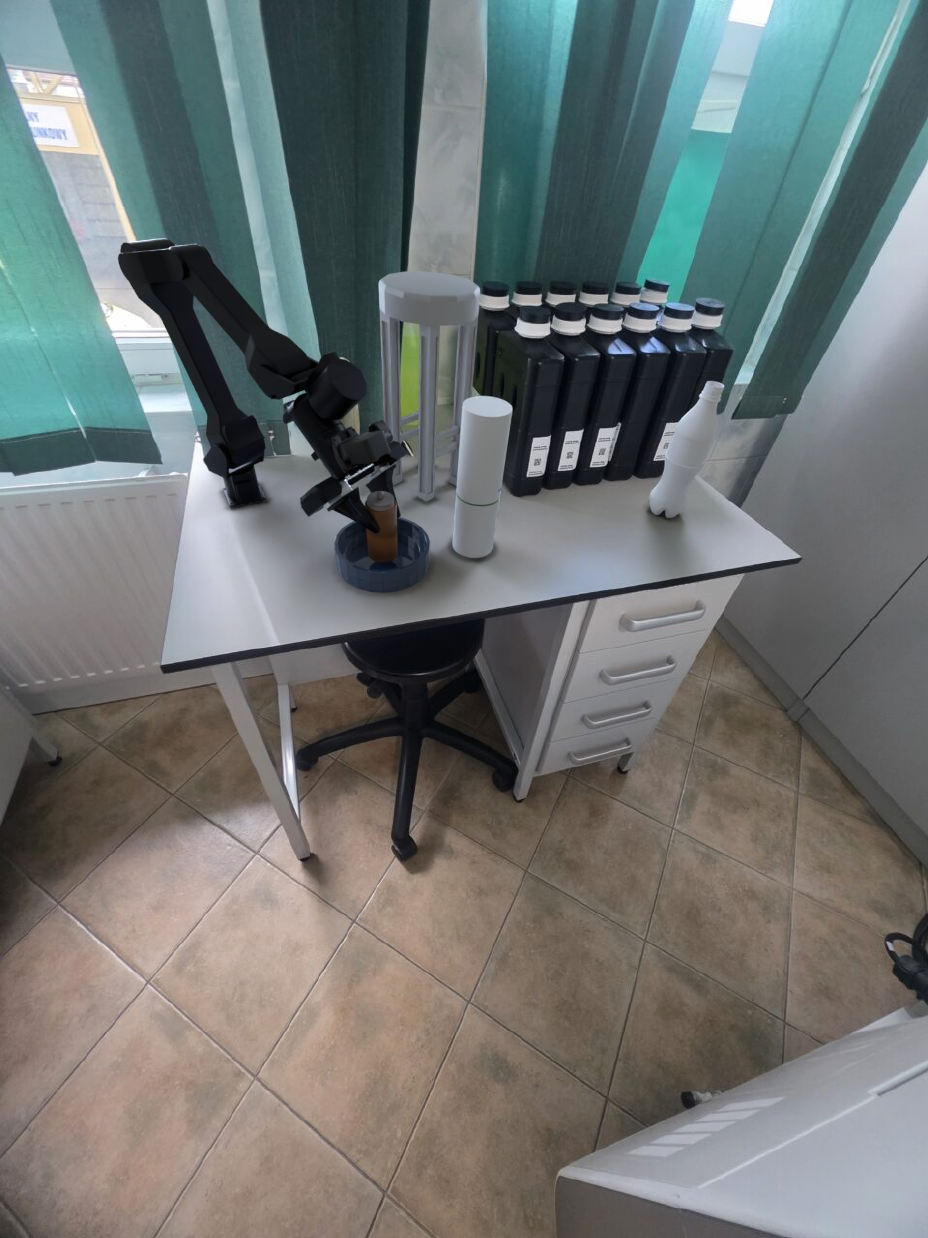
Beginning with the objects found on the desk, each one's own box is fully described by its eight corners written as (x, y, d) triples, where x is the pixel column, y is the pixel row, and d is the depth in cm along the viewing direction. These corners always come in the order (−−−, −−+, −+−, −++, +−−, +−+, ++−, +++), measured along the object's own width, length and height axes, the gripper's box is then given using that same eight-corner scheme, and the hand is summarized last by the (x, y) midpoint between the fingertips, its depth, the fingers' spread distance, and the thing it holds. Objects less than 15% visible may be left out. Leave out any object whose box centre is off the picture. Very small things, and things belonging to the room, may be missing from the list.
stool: (478, 483, 105) (499, 286, 80) (426, 511, 96) (431, 300, 72) (425, 456, 112) (429, 266, 87) (371, 480, 103) (359, 276, 78)
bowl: (324, 549, 86) (321, 527, 83) (406, 528, 92) (406, 507, 89) (356, 605, 77) (354, 583, 74) (444, 578, 83) (446, 557, 80)
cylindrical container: (497, 541, 91) (518, 402, 74) (485, 564, 86) (504, 420, 69) (460, 531, 93) (471, 392, 75) (446, 553, 88) (455, 410, 70)
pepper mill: (363, 548, 84) (358, 486, 75) (390, 541, 85) (388, 480, 77) (374, 565, 81) (371, 503, 73) (402, 558, 83) (401, 496, 74)
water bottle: (643, 514, 101) (692, 386, 84) (647, 497, 106) (695, 373, 88) (679, 524, 100) (737, 396, 82) (682, 507, 105) (737, 382, 87)
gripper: (303, 430, 62) (377, 537, 66) (396, 387, 74) (454, 480, 78) (269, 467, 70) (337, 560, 75) (358, 423, 82) (412, 505, 86)
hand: (388, 524), depth 78 cm, fingers closed on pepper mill, 5 cm apart
